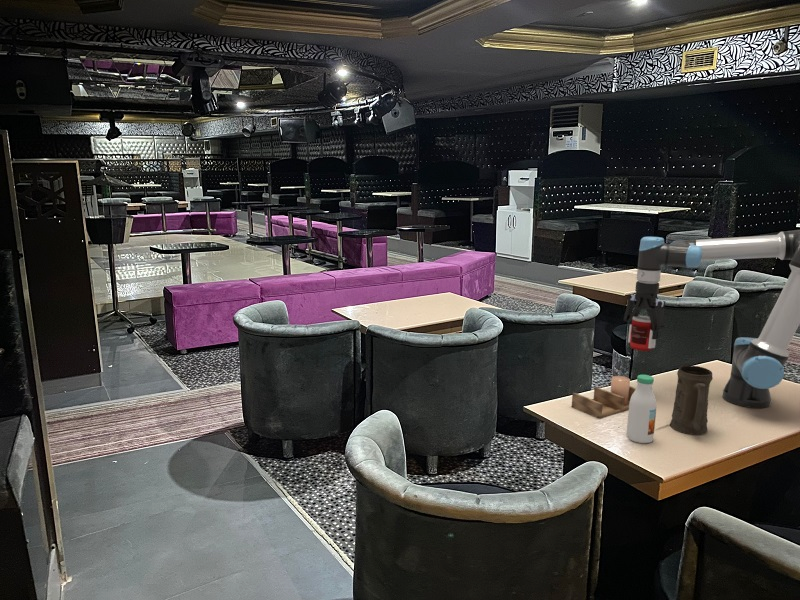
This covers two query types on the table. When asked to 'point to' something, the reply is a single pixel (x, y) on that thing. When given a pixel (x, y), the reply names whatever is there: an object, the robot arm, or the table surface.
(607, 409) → the rack
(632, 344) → the canned food
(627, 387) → the peach rounded block
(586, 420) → the table surface
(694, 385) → the beer stein
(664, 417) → the table surface
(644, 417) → the milk bottle
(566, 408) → the table surface
